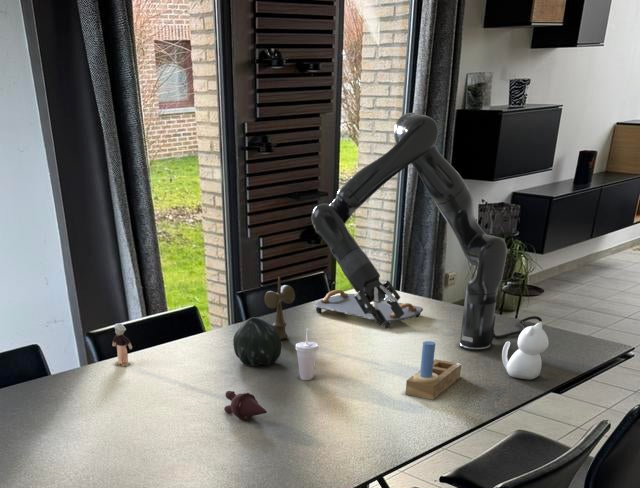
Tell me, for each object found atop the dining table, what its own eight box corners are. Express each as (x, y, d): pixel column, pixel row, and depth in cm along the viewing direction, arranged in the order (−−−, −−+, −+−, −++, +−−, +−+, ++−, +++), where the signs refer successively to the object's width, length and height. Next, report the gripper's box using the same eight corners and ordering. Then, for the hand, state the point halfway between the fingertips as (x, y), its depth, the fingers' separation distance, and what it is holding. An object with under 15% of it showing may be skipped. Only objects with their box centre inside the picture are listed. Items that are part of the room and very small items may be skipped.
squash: (280, 333, 229) (249, 301, 220) (297, 349, 217) (265, 316, 208) (248, 366, 231) (216, 336, 222) (263, 384, 219) (230, 352, 210)
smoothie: (318, 374, 212) (318, 326, 205) (317, 381, 207) (318, 333, 200) (295, 373, 213) (296, 326, 206) (294, 381, 207) (294, 333, 200)
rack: (433, 372, 211) (435, 359, 209) (460, 377, 207) (461, 363, 205) (405, 394, 197) (406, 380, 195) (432, 399, 193) (434, 385, 191)
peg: (423, 384, 201) (427, 337, 195) (441, 390, 197) (446, 343, 190) (407, 389, 198) (411, 342, 191) (425, 396, 194) (430, 348, 187)
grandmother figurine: (109, 365, 224) (104, 324, 217) (116, 361, 227) (111, 320, 220) (131, 367, 221) (126, 326, 215) (138, 363, 224) (133, 322, 218)
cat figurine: (534, 385, 200) (544, 331, 193) (491, 375, 208) (499, 323, 200) (547, 376, 206) (557, 323, 199) (505, 367, 213) (513, 315, 206)
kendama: (295, 336, 244) (295, 275, 234) (278, 343, 238) (277, 281, 228) (281, 333, 248) (280, 272, 237) (263, 340, 241) (262, 278, 231)
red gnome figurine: (278, 397, 180) (237, 387, 190) (256, 398, 175) (216, 388, 185) (275, 425, 182) (235, 414, 192) (254, 426, 177) (213, 415, 187)
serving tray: (306, 311, 270) (306, 294, 267) (346, 299, 284) (346, 283, 281) (392, 331, 246) (393, 313, 243) (430, 316, 260) (432, 299, 257)
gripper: (352, 266, 189) (386, 317, 188) (383, 256, 198) (416, 305, 197) (335, 284, 195) (368, 334, 194) (365, 274, 204) (398, 321, 203)
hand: (392, 319), depth 196 cm, fingers open, 8 cm apart
